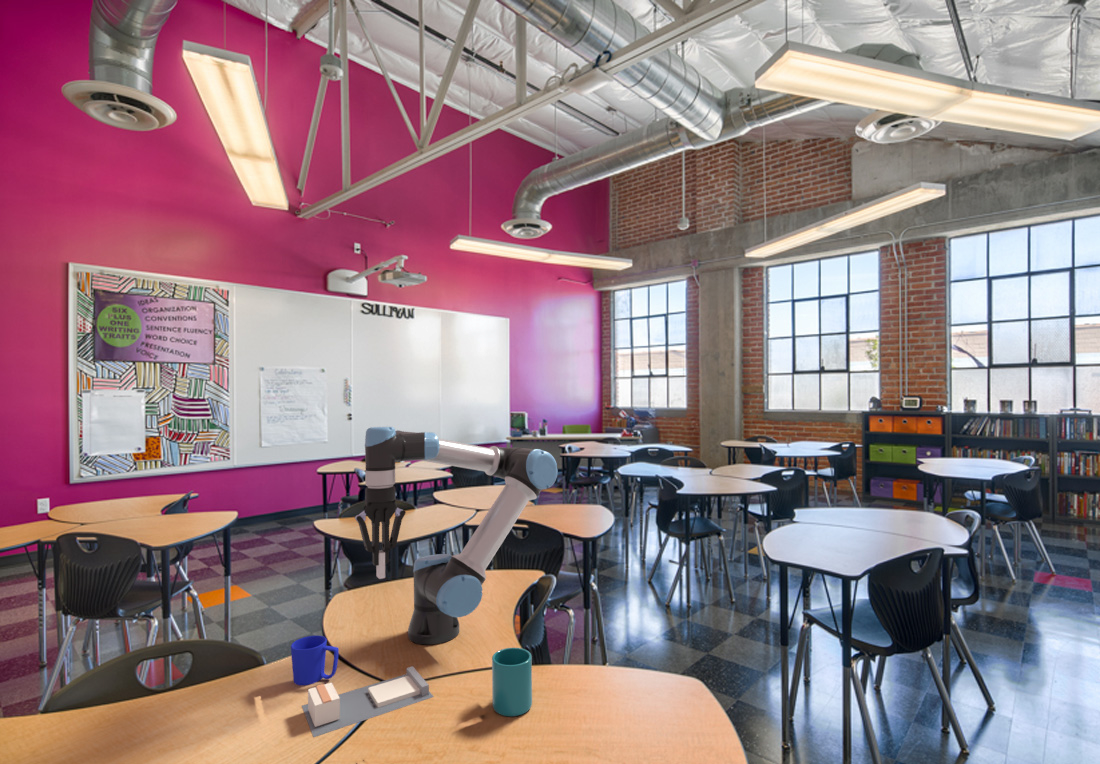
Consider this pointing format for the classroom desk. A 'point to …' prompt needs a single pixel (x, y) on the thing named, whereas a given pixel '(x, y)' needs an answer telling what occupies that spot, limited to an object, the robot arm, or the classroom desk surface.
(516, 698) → the cup
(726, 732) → the classroom desk surface
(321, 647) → the mug
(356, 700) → the clipboard
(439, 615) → the robot arm
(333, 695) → the white box
